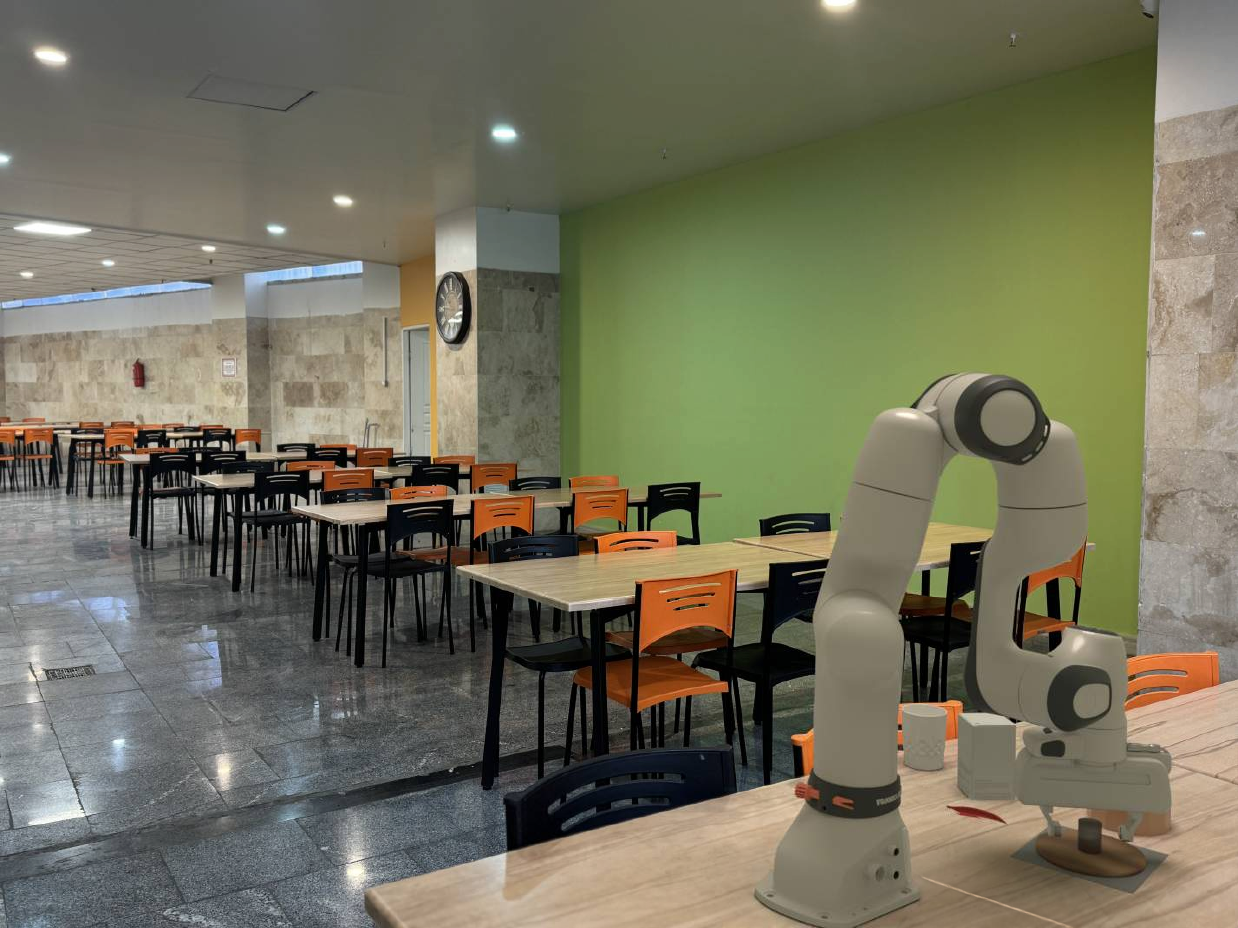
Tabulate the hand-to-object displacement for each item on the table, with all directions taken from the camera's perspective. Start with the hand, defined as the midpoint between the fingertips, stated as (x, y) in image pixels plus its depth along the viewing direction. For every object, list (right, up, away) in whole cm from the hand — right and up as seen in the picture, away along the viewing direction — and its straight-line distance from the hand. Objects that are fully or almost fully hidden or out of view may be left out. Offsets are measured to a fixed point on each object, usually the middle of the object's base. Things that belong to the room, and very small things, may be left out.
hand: (1089, 837), depth 140 cm
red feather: (-11, -3, +15) cm, 19 cm away
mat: (0, -3, 0) cm, 3 cm away
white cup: (-12, -2, +39) cm, 40 cm away
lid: (0, -3, 0) cm, 2 cm away
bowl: (+12, -2, +12) cm, 17 cm away
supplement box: (-6, -2, +25) cm, 25 cm away
